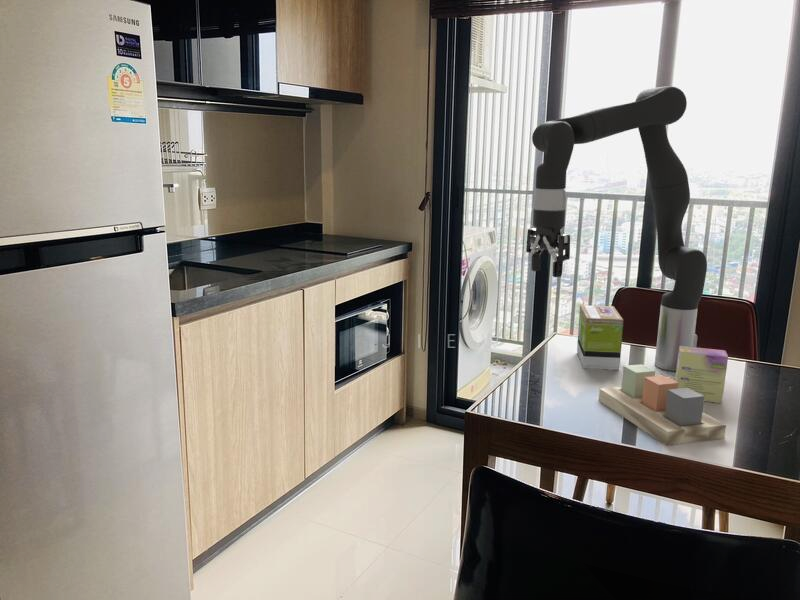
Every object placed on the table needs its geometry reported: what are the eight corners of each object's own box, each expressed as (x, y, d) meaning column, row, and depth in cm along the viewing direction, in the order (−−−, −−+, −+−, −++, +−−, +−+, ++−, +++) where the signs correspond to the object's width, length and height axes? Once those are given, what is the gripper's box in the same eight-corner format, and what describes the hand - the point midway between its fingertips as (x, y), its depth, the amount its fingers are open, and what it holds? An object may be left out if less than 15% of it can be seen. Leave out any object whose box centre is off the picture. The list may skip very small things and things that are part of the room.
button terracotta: (660, 402, 148) (663, 375, 147) (675, 410, 144) (678, 382, 142) (641, 404, 147) (644, 377, 146) (655, 413, 142) (658, 384, 141)
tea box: (575, 352, 193) (579, 303, 190) (610, 354, 192) (615, 305, 188) (582, 369, 178) (586, 316, 175) (620, 371, 177) (625, 318, 174)
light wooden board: (649, 395, 160) (650, 383, 159) (724, 438, 136) (726, 425, 135) (598, 400, 156) (599, 388, 155) (666, 445, 132) (668, 431, 132)
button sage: (639, 390, 156) (641, 364, 154) (652, 397, 151) (655, 371, 150) (620, 391, 155) (623, 365, 153) (633, 399, 150) (636, 372, 148)
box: (719, 395, 160) (725, 349, 157) (722, 404, 155) (728, 356, 152) (673, 390, 163) (678, 344, 161) (674, 398, 158) (680, 351, 156)
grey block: (684, 416, 141) (687, 387, 139) (700, 425, 136) (704, 396, 135) (664, 418, 140) (667, 389, 138) (680, 427, 135) (683, 398, 133)
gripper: (581, 209, 153) (577, 277, 156) (544, 204, 165) (541, 267, 169) (555, 210, 150) (551, 280, 153) (519, 205, 162) (516, 270, 166)
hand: (546, 273), depth 161 cm, fingers open, 8 cm apart
